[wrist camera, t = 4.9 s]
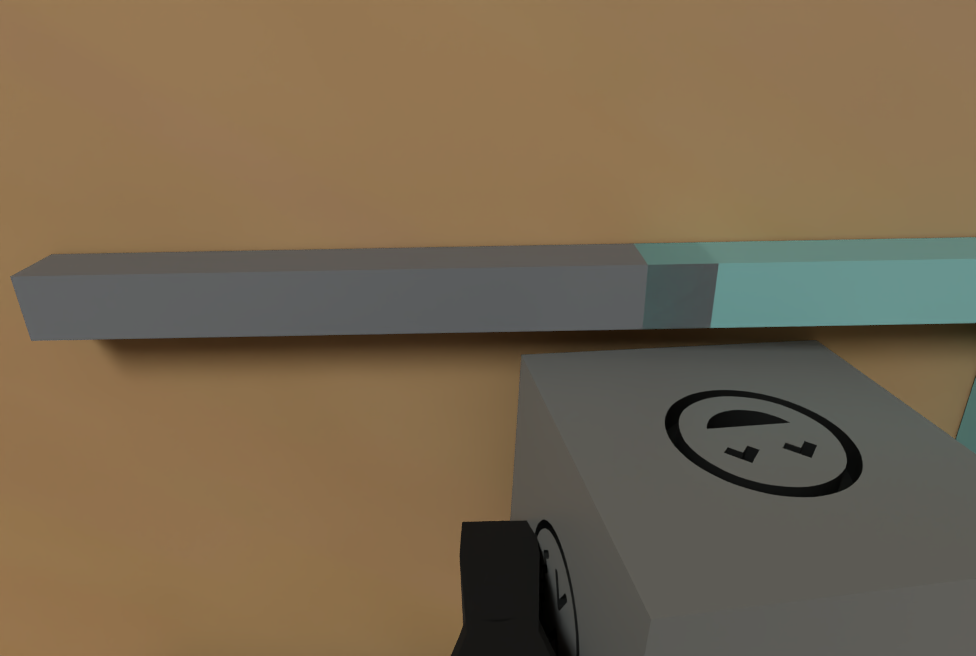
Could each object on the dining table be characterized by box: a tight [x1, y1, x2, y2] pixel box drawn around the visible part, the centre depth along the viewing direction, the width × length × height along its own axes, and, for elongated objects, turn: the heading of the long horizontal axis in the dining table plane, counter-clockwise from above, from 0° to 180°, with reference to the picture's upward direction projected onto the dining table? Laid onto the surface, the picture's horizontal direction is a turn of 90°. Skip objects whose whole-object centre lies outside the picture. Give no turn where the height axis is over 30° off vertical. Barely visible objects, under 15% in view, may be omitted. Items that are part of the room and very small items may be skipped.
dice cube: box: [510, 340, 976, 656], centre depth 10 cm, size 5×5×5 cm
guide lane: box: [10, 237, 976, 454], centre depth 12 cm, size 10×16×2 cm, turn 91°
